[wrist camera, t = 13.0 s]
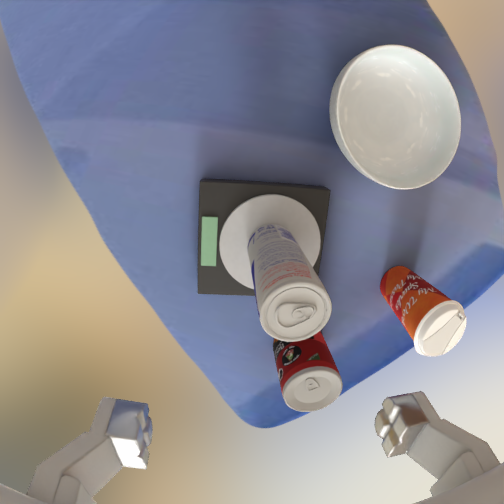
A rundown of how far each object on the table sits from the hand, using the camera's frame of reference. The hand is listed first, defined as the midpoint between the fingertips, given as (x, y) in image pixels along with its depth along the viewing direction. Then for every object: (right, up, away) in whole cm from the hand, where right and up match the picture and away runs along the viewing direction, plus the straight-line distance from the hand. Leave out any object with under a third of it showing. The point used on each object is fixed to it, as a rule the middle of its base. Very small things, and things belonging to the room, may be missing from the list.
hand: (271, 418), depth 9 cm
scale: (0, +7, +31) cm, 31 cm away
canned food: (+6, -8, +37) cm, 38 cm away
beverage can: (+2, +6, +28) cm, 29 cm away
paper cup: (+21, +1, +35) cm, 41 cm away
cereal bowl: (+15, +23, +26) cm, 38 cm away
